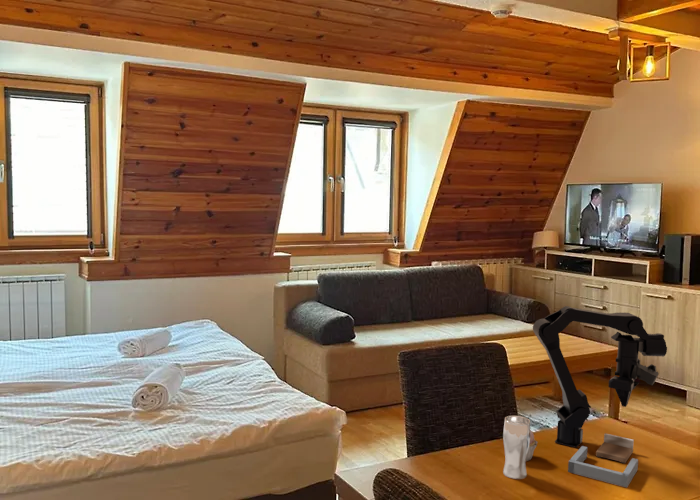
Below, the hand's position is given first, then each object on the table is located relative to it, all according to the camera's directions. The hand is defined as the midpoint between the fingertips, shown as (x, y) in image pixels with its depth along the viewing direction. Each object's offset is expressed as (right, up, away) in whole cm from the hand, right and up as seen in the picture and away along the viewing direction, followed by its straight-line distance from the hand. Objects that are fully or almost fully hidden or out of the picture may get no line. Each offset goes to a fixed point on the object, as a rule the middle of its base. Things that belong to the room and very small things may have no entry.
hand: (624, 405), depth 189 cm
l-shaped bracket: (-6, -13, -7) cm, 16 cm away
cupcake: (-35, -12, -10) cm, 38 cm away
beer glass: (-39, -13, -22) cm, 47 cm away
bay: (-14, -13, -18) cm, 26 cm away
